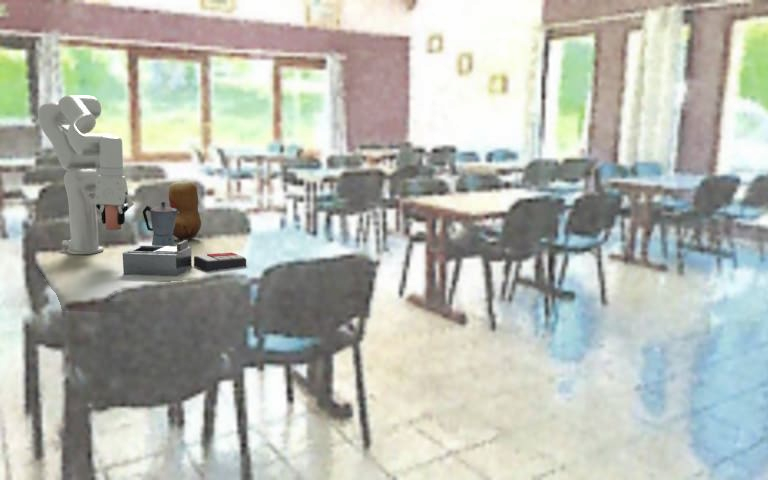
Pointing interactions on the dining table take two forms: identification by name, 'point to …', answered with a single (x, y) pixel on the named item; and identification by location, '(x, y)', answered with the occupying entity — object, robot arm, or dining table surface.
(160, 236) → the moka pot
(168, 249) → the guard cover
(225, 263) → the calculator
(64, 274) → the dining table surface
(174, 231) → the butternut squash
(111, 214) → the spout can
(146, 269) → the grey metal box
